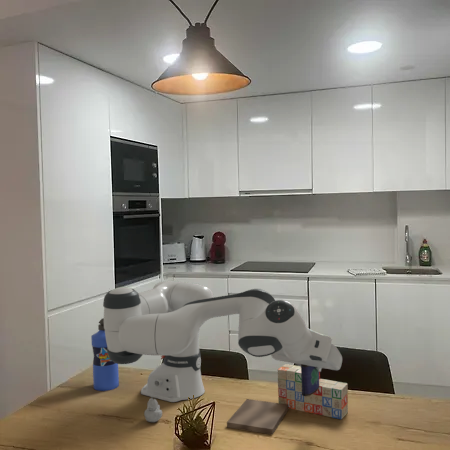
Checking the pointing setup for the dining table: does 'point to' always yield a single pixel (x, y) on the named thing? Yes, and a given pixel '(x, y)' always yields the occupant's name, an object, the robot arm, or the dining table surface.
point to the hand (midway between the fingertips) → (311, 368)
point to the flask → (309, 380)
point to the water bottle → (103, 362)
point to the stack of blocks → (317, 402)
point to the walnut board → (258, 416)
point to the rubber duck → (153, 411)
